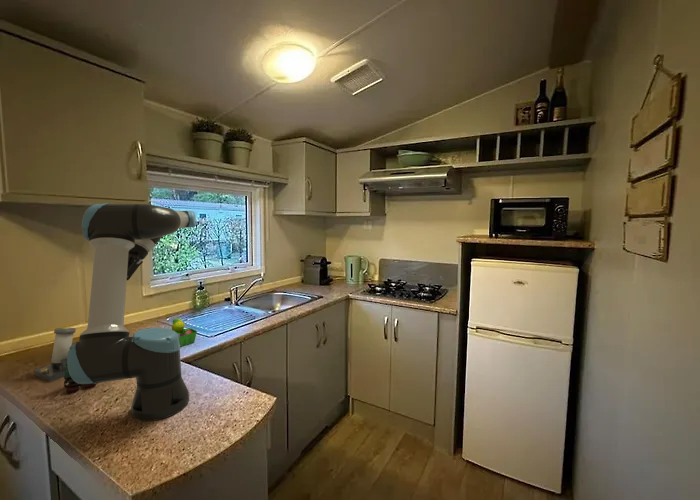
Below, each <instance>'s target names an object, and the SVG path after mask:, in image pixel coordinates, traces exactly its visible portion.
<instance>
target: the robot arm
mask: <svg viewBox="0 0 700 500" xmlns="http://www.w3.org/2000/svg"><path fill="white" fill-rule="evenodd" d="M196 223H197V218H196V213H195V211H194V210H175V209H173V208H169V207H166V206H161V205H160V206H159V205H155V204H149V203H110V202H106V203H96V204H92V205H90V206H88V208H87V209H86V210H85V212H84V213H83V216H82V220H81V229H82V230H81V231H82V236H83V237H84V238H85V240H87V241H88V244H89V245H90V247H92V248H93V249H94V255H93V266H92V276H91V285H90V297H89V305H88V306H89V308H88V319H87V326H86V329H85V330H84V331H82V332H81V333H80V334H79V341H76V342H72V345H71V346H70V348H69V349H70V350H69V351H68V354H67V366H68V371H69V374H70V376H71V378H72V379H73V380H74V381H75V382H76V383H78V384H90V383H93V384H96V383H97V384H99V383H107V382H113V381H120V380H127V379H135V381H136V388H135V392H134V396H133V399H132V402H131V406H130V408H131V416H132V418H133V419H136V420H137V421H143V422H144V421H145V422H150V421H152V422H153V421H156V420H157V421H158V420H162V419H165V418H168V417H170V416H172V415H175V414H177V413H178V412H180V411H181V410H183V409H184V408H186V406H187V405H188V403H190V393H189V390H188V387H187V385H186V383H185V381H184V378H183V377H182V367H181V366H182V364H181V363H182V362H181V350H180V349H181V347H180V344H179V337H178V334H177V333H176V332H175V331H173V330H172V328H171V329H170V328H165V327H149V328H146V329H145V328H143V329H140V330H137V331H136V332H134V333H133V335H132V336H130V331H129V329H127V327H125V324H124V323H125V312H126V311H125V310H126V298H127V297H126V293H127V282H128V281H129V280H130V279H131V277H132V276H133V275H134V273H135V272H136V271H137V270H138V268H140V266H141V265H142V264H143V263H144V261H143V260H144V259H146V258H147V256H148V255H149V253H150V252H151V251H152V250H153V248H154V247H155V246H156V245H157V244H158V243H159V242H160V240H162V239H161V238H163V237H165V236H169V235H171V234H174V233H176V232H177V231H178V230H179V229H182V228H183V229H184V228H187V229H189V228H195V227H196ZM97 384H96V385H97Z"/></svg>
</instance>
